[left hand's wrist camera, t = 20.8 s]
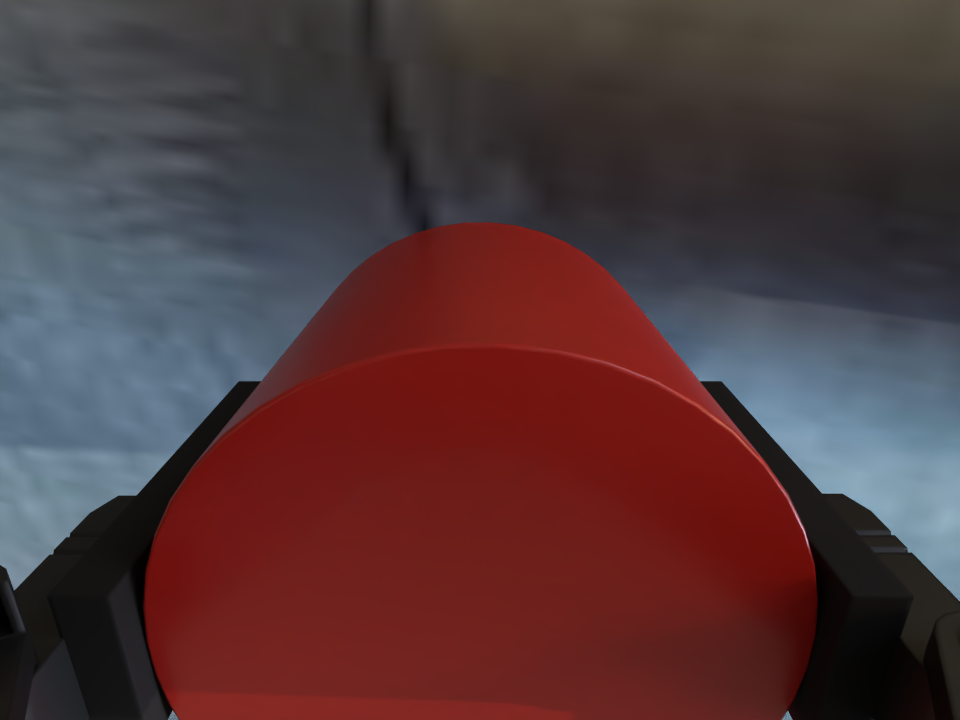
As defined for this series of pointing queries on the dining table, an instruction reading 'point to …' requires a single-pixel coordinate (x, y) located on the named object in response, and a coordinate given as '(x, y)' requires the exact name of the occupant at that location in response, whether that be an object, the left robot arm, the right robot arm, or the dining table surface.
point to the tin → (480, 514)
